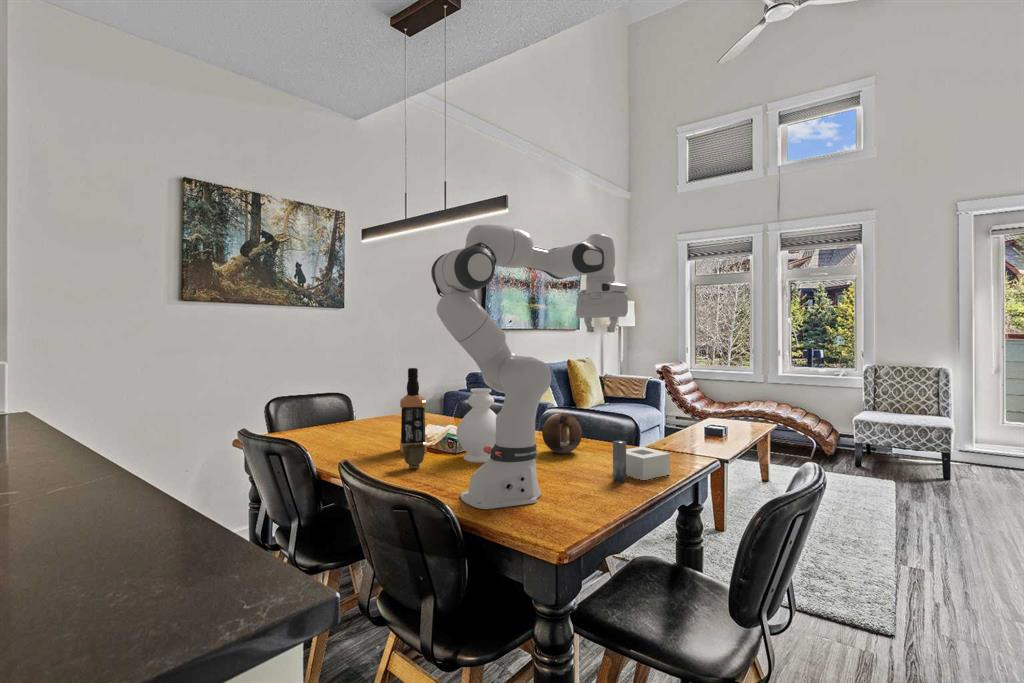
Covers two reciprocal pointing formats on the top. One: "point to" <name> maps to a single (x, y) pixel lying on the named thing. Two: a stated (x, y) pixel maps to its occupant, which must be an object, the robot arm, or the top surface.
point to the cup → (414, 455)
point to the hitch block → (647, 463)
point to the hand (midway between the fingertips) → (600, 332)
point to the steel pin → (619, 461)
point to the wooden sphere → (562, 433)
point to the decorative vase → (478, 426)
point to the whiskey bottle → (412, 413)
